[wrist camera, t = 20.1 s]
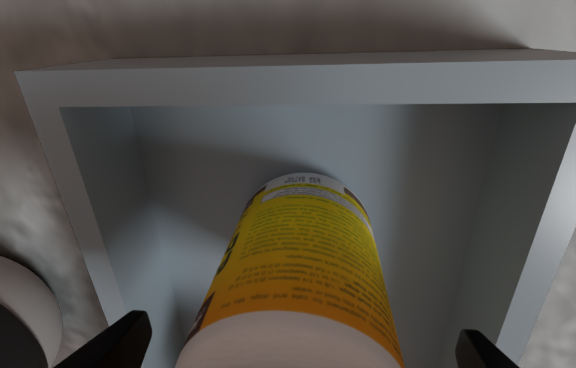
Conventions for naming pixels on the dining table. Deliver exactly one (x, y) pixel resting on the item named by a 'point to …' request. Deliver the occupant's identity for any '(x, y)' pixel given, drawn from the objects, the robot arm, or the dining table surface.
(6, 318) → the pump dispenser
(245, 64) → the tray
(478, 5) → the dining table surface
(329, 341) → the supplement bottle
